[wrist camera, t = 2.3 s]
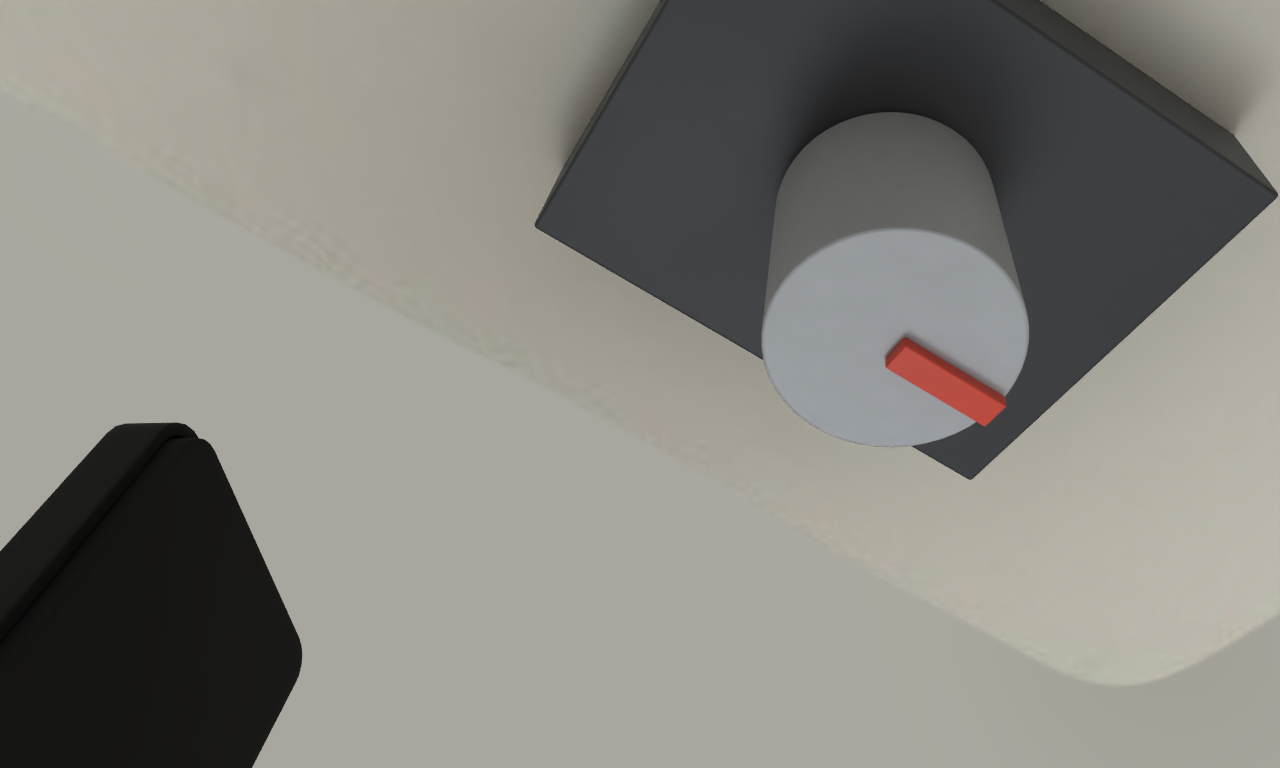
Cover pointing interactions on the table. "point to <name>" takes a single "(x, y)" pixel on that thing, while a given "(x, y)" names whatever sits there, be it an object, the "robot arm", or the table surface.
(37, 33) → the table surface
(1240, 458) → the table surface
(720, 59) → the dial panel
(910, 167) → the dial
